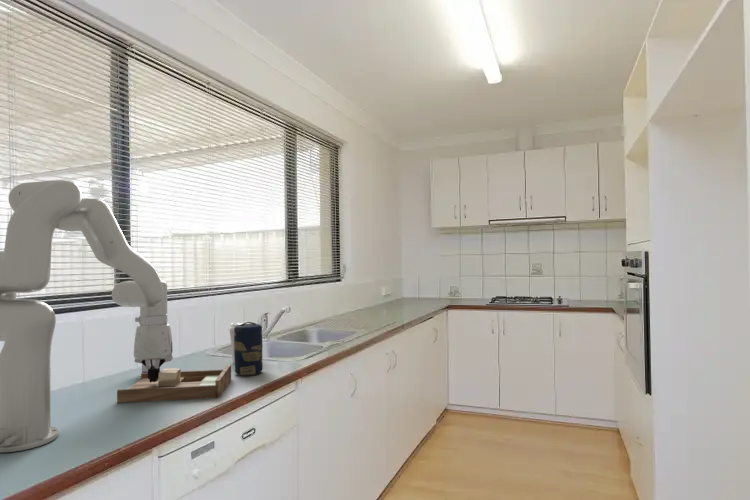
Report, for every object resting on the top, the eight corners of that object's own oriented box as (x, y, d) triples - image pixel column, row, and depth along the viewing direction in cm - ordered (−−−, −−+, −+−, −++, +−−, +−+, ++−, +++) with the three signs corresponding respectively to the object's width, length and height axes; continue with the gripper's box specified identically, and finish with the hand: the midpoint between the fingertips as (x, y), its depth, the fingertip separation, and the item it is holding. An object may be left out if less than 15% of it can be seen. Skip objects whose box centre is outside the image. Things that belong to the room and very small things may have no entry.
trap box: (219, 397, 134) (219, 380, 134) (117, 402, 130) (117, 385, 130) (231, 379, 154) (230, 364, 154) (142, 383, 150) (142, 368, 150)
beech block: (175, 385, 140) (176, 372, 140) (158, 386, 139) (158, 372, 139) (180, 381, 145) (180, 368, 145) (163, 381, 144) (163, 368, 144)
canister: (264, 375, 159) (264, 323, 159) (235, 378, 156) (235, 324, 156) (260, 369, 168) (260, 319, 168) (233, 372, 164) (232, 321, 165)
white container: (227, 360, 182) (226, 322, 182) (251, 358, 186) (251, 321, 186) (230, 366, 174) (230, 325, 174) (256, 363, 178) (256, 324, 178)
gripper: (122, 323, 137) (123, 385, 136) (176, 321, 139) (176, 383, 139) (132, 319, 144) (132, 379, 144) (182, 318, 147) (182, 376, 146)
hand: (153, 380), depth 141 cm, fingers closed
